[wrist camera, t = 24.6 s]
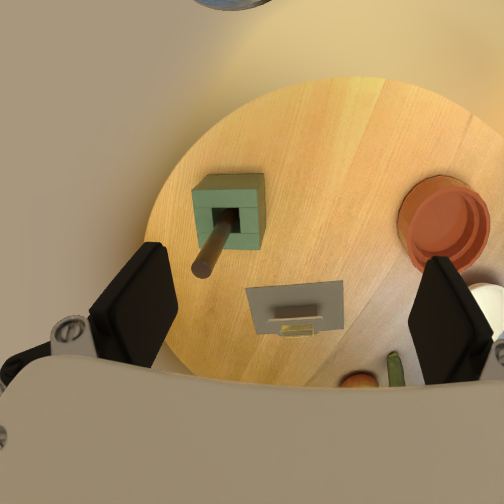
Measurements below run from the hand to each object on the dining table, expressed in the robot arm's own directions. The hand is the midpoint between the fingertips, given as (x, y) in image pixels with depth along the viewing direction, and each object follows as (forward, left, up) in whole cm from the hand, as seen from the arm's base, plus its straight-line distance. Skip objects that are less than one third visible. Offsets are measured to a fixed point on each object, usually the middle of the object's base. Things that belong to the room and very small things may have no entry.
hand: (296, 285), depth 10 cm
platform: (+32, 0, -37) cm, 49 cm away
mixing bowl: (+12, +24, -37) cm, 46 cm away
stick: (+11, -10, -37) cm, 40 cm away
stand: (+10, -10, -37) cm, 40 cm away
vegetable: (+45, +22, -37) cm, 63 cm away
